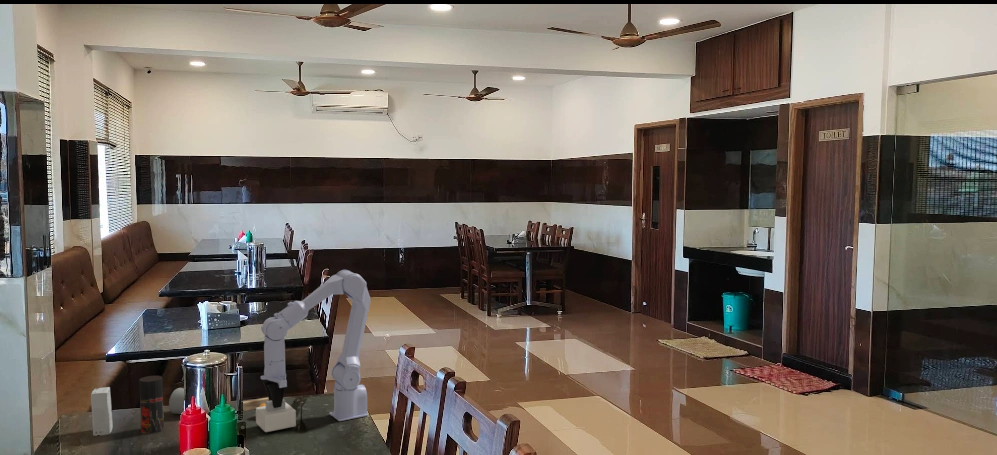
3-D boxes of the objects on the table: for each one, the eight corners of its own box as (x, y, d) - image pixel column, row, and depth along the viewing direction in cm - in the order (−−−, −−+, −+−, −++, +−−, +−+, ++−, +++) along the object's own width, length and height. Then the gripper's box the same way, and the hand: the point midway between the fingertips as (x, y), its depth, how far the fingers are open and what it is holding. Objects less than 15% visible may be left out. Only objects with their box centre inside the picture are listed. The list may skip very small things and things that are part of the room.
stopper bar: (273, 404, 235) (273, 396, 234) (275, 405, 233) (275, 397, 233) (234, 410, 228) (234, 403, 228) (236, 412, 227) (236, 404, 226)
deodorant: (167, 429, 211) (165, 378, 210) (146, 435, 207) (144, 382, 206) (158, 424, 215) (157, 374, 214) (137, 429, 211) (135, 378, 210)
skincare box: (109, 434, 207) (108, 392, 206) (91, 436, 206) (90, 394, 205) (113, 427, 213) (111, 386, 212) (95, 429, 212) (93, 387, 211)
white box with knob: (286, 417, 220) (285, 394, 219) (296, 426, 213) (295, 402, 212) (256, 423, 215) (255, 399, 214) (265, 432, 208) (264, 408, 207)
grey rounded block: (192, 419, 220) (192, 393, 220) (168, 416, 222) (168, 391, 222) (213, 408, 231) (213, 384, 230) (190, 406, 233) (190, 382, 232)
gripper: (253, 356, 216) (254, 401, 217) (268, 367, 204) (269, 415, 205) (277, 352, 220) (278, 397, 221) (293, 363, 208) (294, 410, 209)
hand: (275, 405), depth 213 cm, fingers closed on white box with knob, 2 cm apart
